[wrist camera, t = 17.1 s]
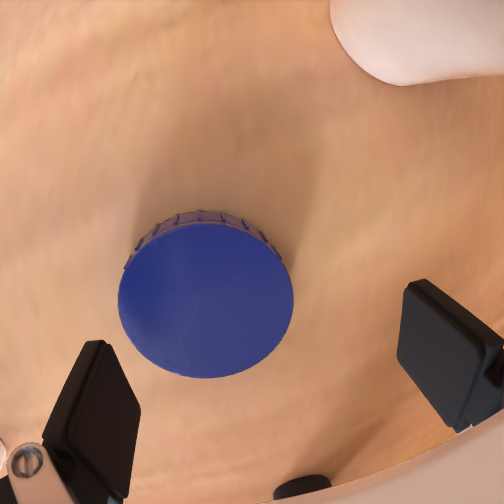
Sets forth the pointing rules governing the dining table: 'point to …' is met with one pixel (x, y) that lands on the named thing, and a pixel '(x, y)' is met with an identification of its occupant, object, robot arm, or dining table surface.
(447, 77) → the jar
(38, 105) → the dining table surface
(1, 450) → the cylindrical container
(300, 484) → the drinking cup
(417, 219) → the dining table surface
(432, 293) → the robot arm
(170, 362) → the lid
